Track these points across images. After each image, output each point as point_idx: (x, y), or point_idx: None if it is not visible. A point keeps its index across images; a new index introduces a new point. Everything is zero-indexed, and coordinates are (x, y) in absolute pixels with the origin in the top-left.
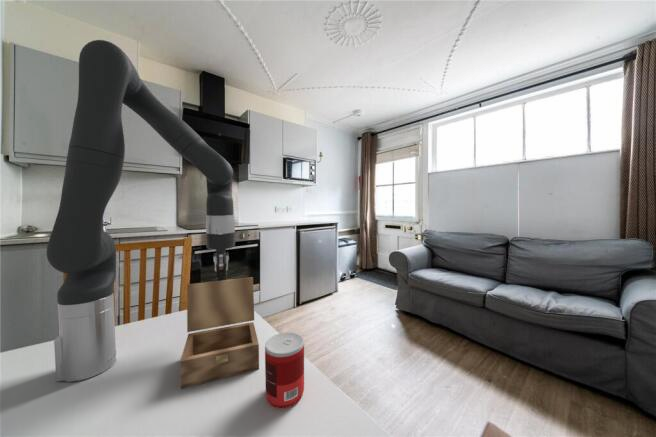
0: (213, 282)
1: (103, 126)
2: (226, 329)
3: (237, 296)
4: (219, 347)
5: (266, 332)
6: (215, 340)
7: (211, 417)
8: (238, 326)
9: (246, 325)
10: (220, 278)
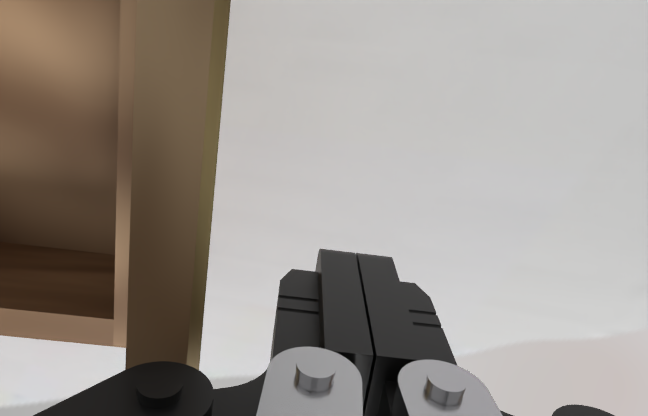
0: (133, 263)
1: None
2: (118, 172)
3: None
4: None
5: (255, 356)
6: None
7: None
8: (119, 253)
9: (115, 301)
10: (246, 405)
